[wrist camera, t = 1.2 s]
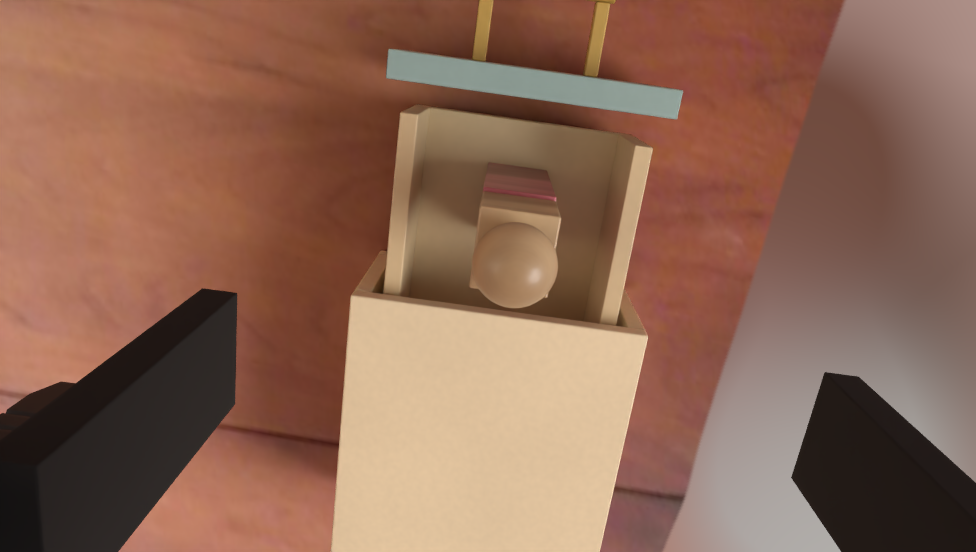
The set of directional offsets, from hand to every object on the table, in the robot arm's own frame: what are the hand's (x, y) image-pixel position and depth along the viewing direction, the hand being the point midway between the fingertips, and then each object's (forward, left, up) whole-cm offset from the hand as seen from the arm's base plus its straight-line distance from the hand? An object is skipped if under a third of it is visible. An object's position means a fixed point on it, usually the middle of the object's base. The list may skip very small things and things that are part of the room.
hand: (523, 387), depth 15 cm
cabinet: (+9, +8, -22) cm, 25 cm away
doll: (0, 0, -20) cm, 20 cm away
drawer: (-1, -1, -22) cm, 22 cm away
